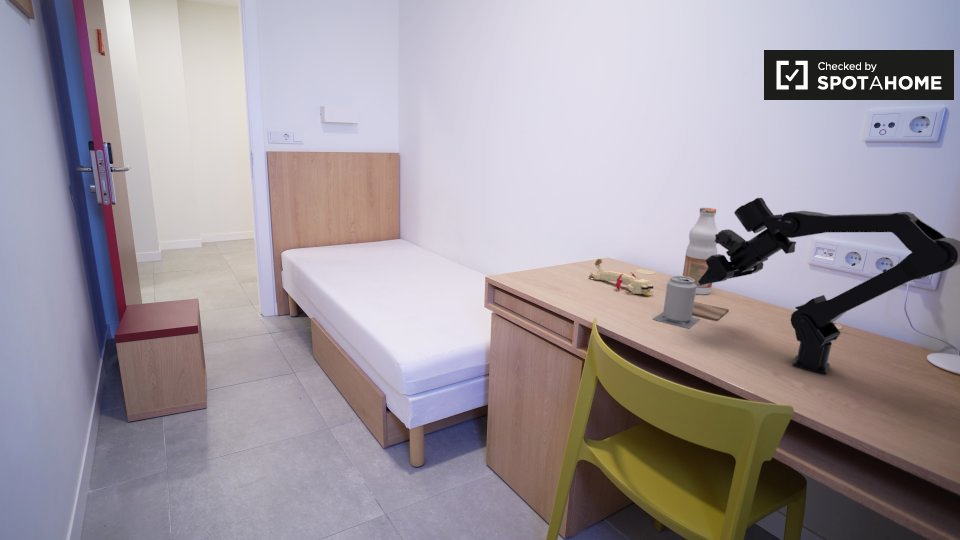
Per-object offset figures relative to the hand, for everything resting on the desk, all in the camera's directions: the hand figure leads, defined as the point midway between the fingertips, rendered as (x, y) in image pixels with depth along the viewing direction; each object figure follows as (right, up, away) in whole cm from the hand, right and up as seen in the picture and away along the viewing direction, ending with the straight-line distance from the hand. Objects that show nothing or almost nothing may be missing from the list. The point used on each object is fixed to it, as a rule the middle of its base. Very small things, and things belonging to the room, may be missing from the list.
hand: (709, 280), depth 129 cm
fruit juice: (+13, -4, +38) cm, 40 cm away
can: (-5, -11, +9) cm, 15 cm away
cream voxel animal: (-12, -3, +39) cm, 41 cm away
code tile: (-5, -11, +9) cm, 15 cm away
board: (+6, -9, +17) cm, 21 cm away
